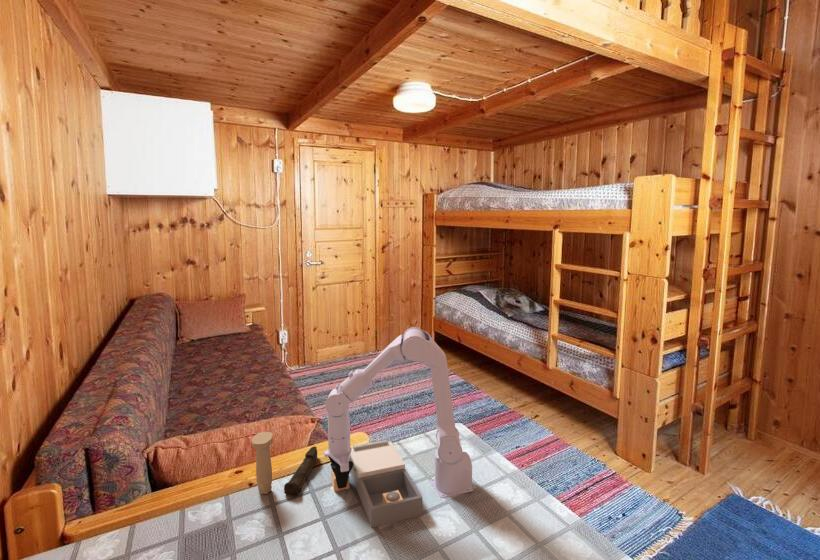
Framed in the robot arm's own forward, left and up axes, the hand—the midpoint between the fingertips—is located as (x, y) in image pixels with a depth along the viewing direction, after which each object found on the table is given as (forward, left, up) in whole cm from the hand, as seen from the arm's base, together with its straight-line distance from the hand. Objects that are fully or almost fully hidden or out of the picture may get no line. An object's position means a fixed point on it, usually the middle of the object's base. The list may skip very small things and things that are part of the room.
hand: (340, 482), depth 114 cm
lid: (-10, -1, +4) cm, 11 cm away
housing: (-10, +5, -1) cm, 11 cm away
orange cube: (0, 0, -1) cm, 1 cm away
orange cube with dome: (-10, +15, -1) cm, 18 cm away
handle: (+19, -5, -2) cm, 20 cm away
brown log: (+9, -9, -2) cm, 13 cm away
